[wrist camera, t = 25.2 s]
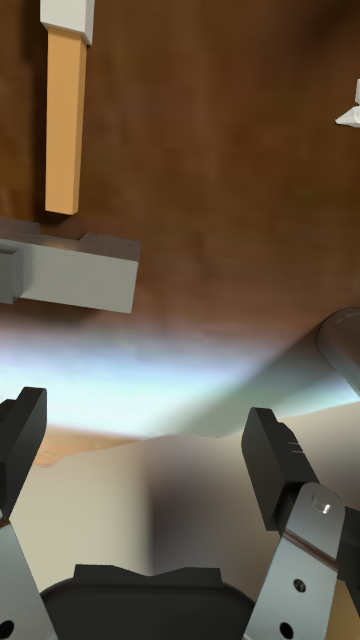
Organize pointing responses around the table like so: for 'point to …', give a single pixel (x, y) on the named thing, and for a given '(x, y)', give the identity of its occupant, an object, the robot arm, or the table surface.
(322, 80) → the table surface
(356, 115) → the cloth
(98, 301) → the block
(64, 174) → the wooden handle
